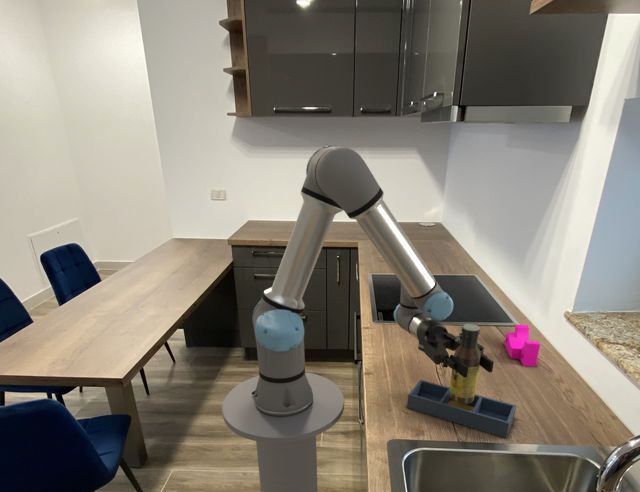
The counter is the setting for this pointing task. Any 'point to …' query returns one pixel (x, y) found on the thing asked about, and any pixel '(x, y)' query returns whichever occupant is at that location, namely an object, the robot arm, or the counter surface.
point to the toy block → (522, 346)
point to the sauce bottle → (470, 356)
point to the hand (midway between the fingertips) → (479, 369)
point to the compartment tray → (462, 408)
